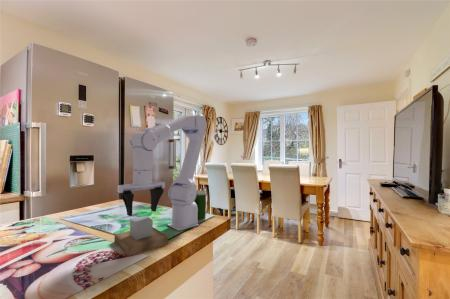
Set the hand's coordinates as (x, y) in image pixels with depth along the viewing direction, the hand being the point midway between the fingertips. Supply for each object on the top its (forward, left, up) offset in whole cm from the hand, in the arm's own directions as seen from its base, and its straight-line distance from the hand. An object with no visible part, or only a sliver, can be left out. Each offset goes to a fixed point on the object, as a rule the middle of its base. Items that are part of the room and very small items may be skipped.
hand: (141, 213), depth 70 cm
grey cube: (0, 0, -7) cm, 7 cm away
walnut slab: (0, 0, -10) cm, 10 cm away
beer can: (-28, -7, -10) cm, 30 cm away
